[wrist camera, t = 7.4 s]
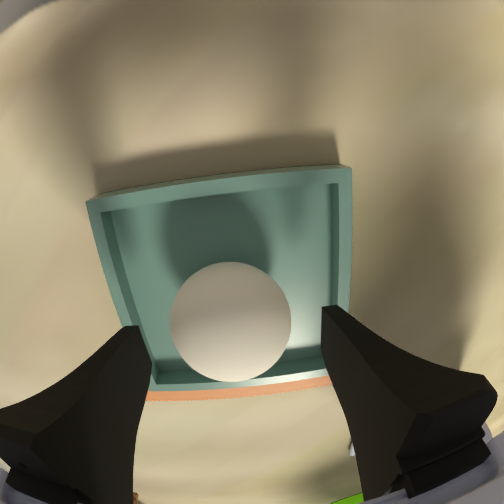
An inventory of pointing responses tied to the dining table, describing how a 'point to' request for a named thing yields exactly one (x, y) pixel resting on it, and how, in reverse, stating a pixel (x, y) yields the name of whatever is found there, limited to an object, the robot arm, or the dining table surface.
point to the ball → (230, 321)
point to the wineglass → (351, 499)
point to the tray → (229, 256)
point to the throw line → (238, 390)
